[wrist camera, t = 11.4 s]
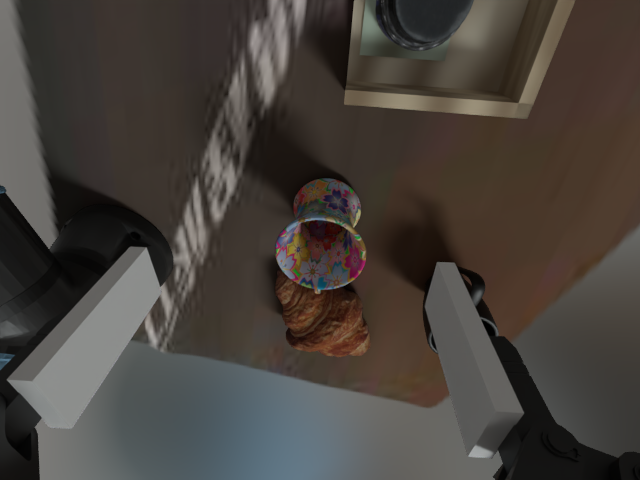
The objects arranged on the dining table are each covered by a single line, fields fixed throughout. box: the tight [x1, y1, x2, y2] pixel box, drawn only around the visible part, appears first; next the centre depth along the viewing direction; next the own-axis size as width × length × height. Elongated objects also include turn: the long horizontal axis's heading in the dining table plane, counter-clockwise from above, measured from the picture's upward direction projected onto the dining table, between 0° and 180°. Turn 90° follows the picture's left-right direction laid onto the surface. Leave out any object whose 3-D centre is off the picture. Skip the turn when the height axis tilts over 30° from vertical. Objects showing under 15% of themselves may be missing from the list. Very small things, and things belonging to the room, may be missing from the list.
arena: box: [344, 0, 575, 119], centre depth 27 cm, size 16×14×6 cm
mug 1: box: [275, 178, 366, 294], centre depth 38 cm, size 12×9×11 cm
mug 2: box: [423, 266, 498, 354], centre depth 42 cm, size 8×12×10 cm
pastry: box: [275, 268, 370, 357], centre depth 49 cm, size 17×15×8 cm
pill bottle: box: [375, 0, 474, 51], centre depth 24 cm, size 6×6×11 cm
